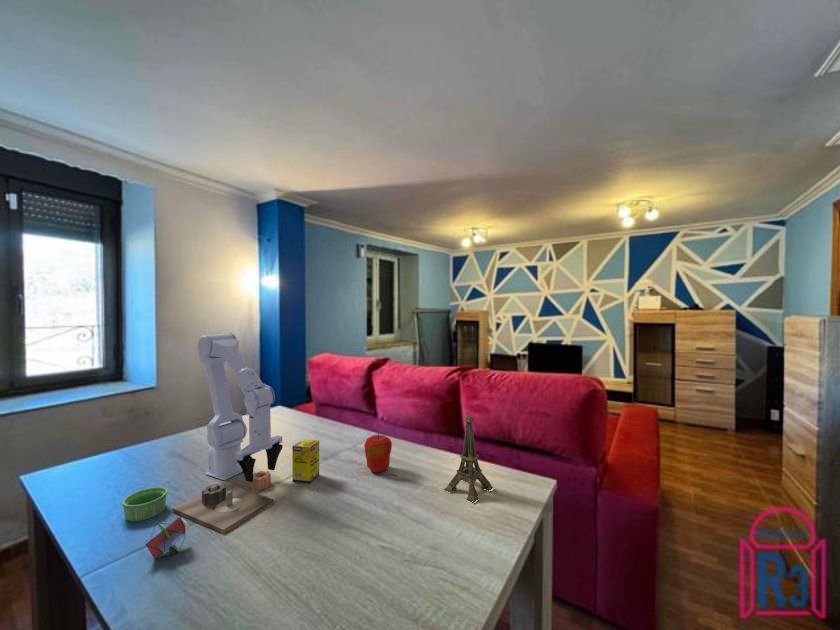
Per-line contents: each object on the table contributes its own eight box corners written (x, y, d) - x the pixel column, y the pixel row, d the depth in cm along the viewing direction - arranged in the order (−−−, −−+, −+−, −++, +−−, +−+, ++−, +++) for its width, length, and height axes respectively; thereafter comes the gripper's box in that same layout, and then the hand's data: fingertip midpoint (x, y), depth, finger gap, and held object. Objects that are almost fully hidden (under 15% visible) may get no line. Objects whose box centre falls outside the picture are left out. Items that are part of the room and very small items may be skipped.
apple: (359, 473, 108) (359, 436, 108) (373, 462, 116) (372, 427, 116) (384, 478, 105) (383, 439, 105) (396, 466, 112) (395, 430, 112)
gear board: (172, 511, 88) (172, 494, 88) (224, 486, 100) (224, 471, 100) (223, 533, 79) (223, 514, 79) (273, 502, 92) (273, 486, 91)
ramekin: (117, 527, 82) (117, 509, 81) (128, 508, 90) (128, 491, 89) (164, 517, 86) (163, 499, 86) (170, 499, 94) (170, 483, 94)
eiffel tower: (443, 490, 98) (443, 403, 97) (465, 477, 105) (464, 396, 105) (474, 504, 91) (474, 410, 90) (495, 489, 98) (495, 402, 98)
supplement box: (310, 484, 101) (310, 447, 101) (291, 482, 103) (291, 445, 103) (320, 474, 107) (319, 439, 107) (302, 472, 109) (302, 438, 108)
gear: (246, 487, 100) (246, 477, 100) (262, 479, 104) (261, 469, 104) (259, 491, 97) (259, 481, 97) (274, 483, 102) (274, 473, 102)
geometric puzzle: (144, 564, 67) (172, 518, 71) (130, 551, 70) (157, 508, 74) (178, 567, 72) (202, 524, 76) (163, 555, 75) (187, 515, 79)
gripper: (247, 439, 92) (248, 489, 92) (289, 423, 105) (289, 467, 106) (230, 435, 95) (230, 484, 96) (272, 420, 108) (273, 463, 109)
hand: (260, 475), depth 101 cm, fingers open, 7 cm apart
